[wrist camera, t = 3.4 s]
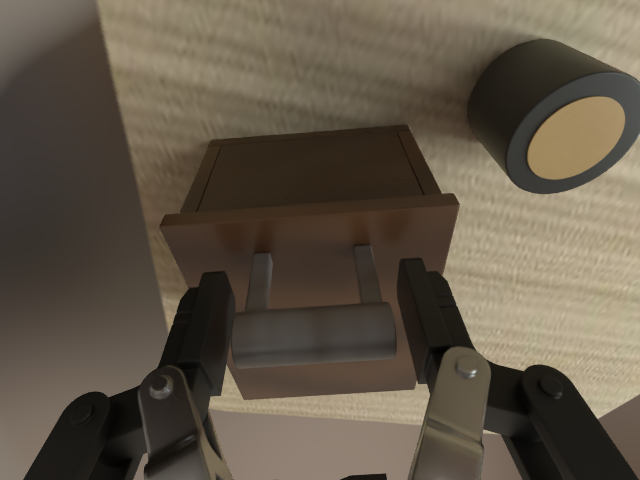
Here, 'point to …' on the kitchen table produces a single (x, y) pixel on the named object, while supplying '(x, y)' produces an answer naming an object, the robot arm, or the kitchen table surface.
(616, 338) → the kitchen table surface
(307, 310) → the lid
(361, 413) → the kitchen table surface
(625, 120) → the dark grey short cylinder
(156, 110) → the kitchen table surface
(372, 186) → the box
